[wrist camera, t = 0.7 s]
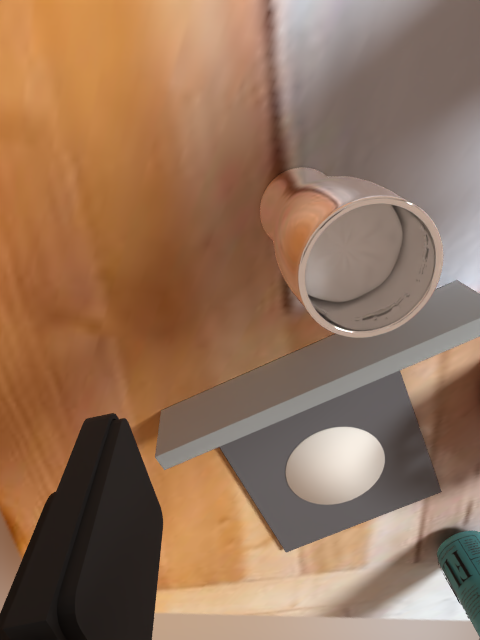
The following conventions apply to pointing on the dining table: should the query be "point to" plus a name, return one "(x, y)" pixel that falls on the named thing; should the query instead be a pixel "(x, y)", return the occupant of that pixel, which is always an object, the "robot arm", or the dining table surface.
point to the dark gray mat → (336, 463)
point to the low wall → (314, 377)
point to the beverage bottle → (463, 571)
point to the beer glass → (351, 250)
